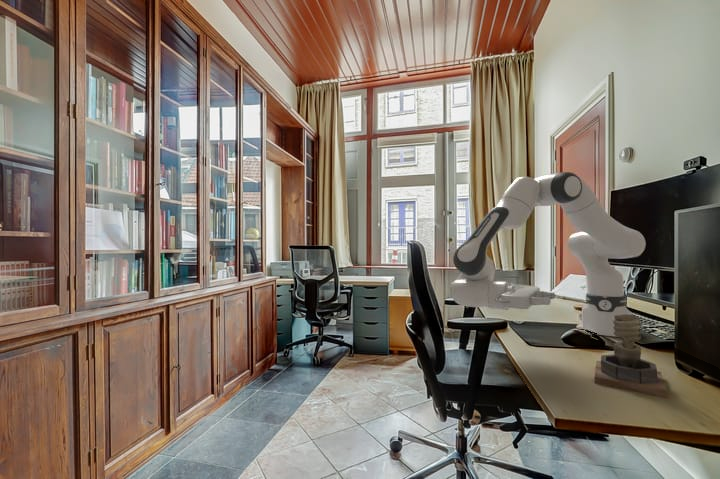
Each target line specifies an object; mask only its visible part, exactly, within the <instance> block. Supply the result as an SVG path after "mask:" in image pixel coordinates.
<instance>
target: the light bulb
mask: <svg viewBox="0 0 720 479" xmlns="http://www.w3.org/2000/svg"><path fill="white" fill-rule="evenodd" d="M614 318H615V320H614V321H613V323H614V325H615V326H613V329H614V330H615V332H614V335H616V336H619V337H618V338H620V339H621V340H622V341H621V342H615V343H613V355H614V354H615V356H616V357H617V359H618V360H619V363H620V366H622V367H628V368H634V366H635V363H637V362H638V361H639V360H640V359H641V357H642V348H641V347H640V346H638V345H636V344H635V342H639V341H640V340H641V338H642V335H641V334H642V326H643V325H642V323H641V319H640V317H638V316H635V315H633V314H631V315H629V314H624V315H615V316H614ZM616 336H615V337H616Z"/></svg>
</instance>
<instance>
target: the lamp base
mask: <svg viewBox="0 0 720 479" xmlns="http://www.w3.org/2000/svg"><path fill="white" fill-rule="evenodd" d="M600 356H601V357H600V360H599V361H598V360H596V363H595V371H594V384H599V385H602V386H603V385H605V386H608V387H613V388H618V389H623V390H627V391H628V390H629V391H634V392H639V393H642V394H648V395H652V396H657V397H661V398H667V399H668V394H669V393H668V389H667V386H666V383H665V381H664V380H665V379H664V377H663V374H662V371H659V370H658V369H657V365H656V363H653V362H651V361H648V360H645V359H642V358H640V360H639V361H638V362H637V363H635V366H634V368H628V367H622V366H620V363H619V360H618V359H617V357H616V356H615V354H614V353H613V354H603V355H602V354H601V355H600Z"/></svg>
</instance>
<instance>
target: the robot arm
mask: <svg viewBox="0 0 720 479" xmlns="http://www.w3.org/2000/svg"><path fill="white" fill-rule="evenodd" d="M552 205H554V206H555V205H559V206H560V207H561V209H562V211H563V213H564V214H565V216H566V217H567V220H568V221H569V222H570V224H571V226H572V227H574V229H576V230H578V232H574V233H572V234H571V235H570V236H569V238H568V239H567V240H568V241H567V248H568V251H569V252H570V253H571V254H572V255H573V256H574V257H576V258H577V260H578V261H579V262H580V263H581V265H582V268H583V269H584V273H585V276H586V277H585V278H586V288H587V290H586V291H587V292H586V294H585V301H586V304H585V305H584V306H583V307H581V323H578V324H576V329H579V330H581V329H588V330H591V331H593V332H595V333H597V334H596V335H599V336H606V337H618V338H620V337H619V336H616V335H614V332H615V330H614V329H613V326H615V325H614V323H613V321H614V320H615V318H614V316H615V315H624V314H629V315H632V311H630V310H629V309H628V308H627V307H626V305H627V299H626V296H625V290H624V285H625V284H624V276H623V273H622V272H620V271H619V270H618V269H615V268H614V267H612V265H611V264H610V263H609V260H608V259H617V260H618V259H619V260H620V259H621V260H623V259H629V258H630V259H632V258H637V257H640V256H641V255H642V254H643V252H644V251H645V249H646V245H647V244H646V239H645V237H644V235H643V234H642V233H641V232H640V231H638V230H635V229H633V228H630V227H628V226H625V225H623V224H622V223H621V222H619V221H618V220H616V219H614V218H613V217H612V216H611V215H610V214H608V212H607V211H606V210H605V209H604V206H602V204H601V202H600V201H599V199H598V198H597V196H596V194H595V193H594V191H593V189H592V188H591V187H590V185H588V184H587V182H586V181H585V180H584V179H583V178H582V177H580V176H578V175H577V174H576V173H573V172H569V171H563V172H562V171H560V172H557V173H555V172H554V173H549V174H548V173H547V174H544V175H541V176H537V177H535V178H533V177H529V176H520V177H517V178H516V179H515V180H513V182H512V183H511V184H510V185H509V186H508V187H507V189H506V190H505V191H504V193H503V194H502V195H501V197H500V199H499V201H498V202H497V204H496V205H495V207H493V208H491V209H490V210H489V211H488V212H487V213H486V215H485V216H484V218H482V219H481V222H480V223H479V224H478V225H477V227H476V228H475V229H474V231H473V233H471V234H470V237H469V238H467V240H465V241H464V242H463V243H461V245H459V247H458V248H456V249H455V251H454V253H453V258H452V261H453V265H454V267H455V268H456V269H457V271H459V272H460V274H459V276H458V277H457V278H456V279H455V280H453V281H452V282H451V283H450V294H451V297H452V299H453V301H454V302H455V303H456V304H457V305H460V306H465V307H472V308H482V307H483V308H488V309H491V310H500V311H501V310H503V311H508V310H510V308H511V309H519V310H528V309H530V308H531V307H533V306H549V305H551V302H552V301H551V300H555V298H556V293H555V292H549V291H544V290H541V289H540V287H538V286H534V285H527V284H517V283H515V284H514V282H512V281H511V282H510V281H507V280H506V281H504V280H502V281H501V280H500V281H499V280H495V276H496V268H495V267H496V266H495V265H494V263H493V262H492V260H491V259H490V258H489V257H488V255H487V254H488V253H487V252H488V247H489V246H490V244H491V243H492V241H493V240H494V239H495V237H496V236H497V235H498V233H499V232H500V231H501V230H502V229H506V230H516V229H519V228H522V226H523V225H524V224H525V223H526V222H527V220H528V219H529V217H530V216H531V214H532V212H533V210H534V208H535V207H548V206H552Z"/></svg>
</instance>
